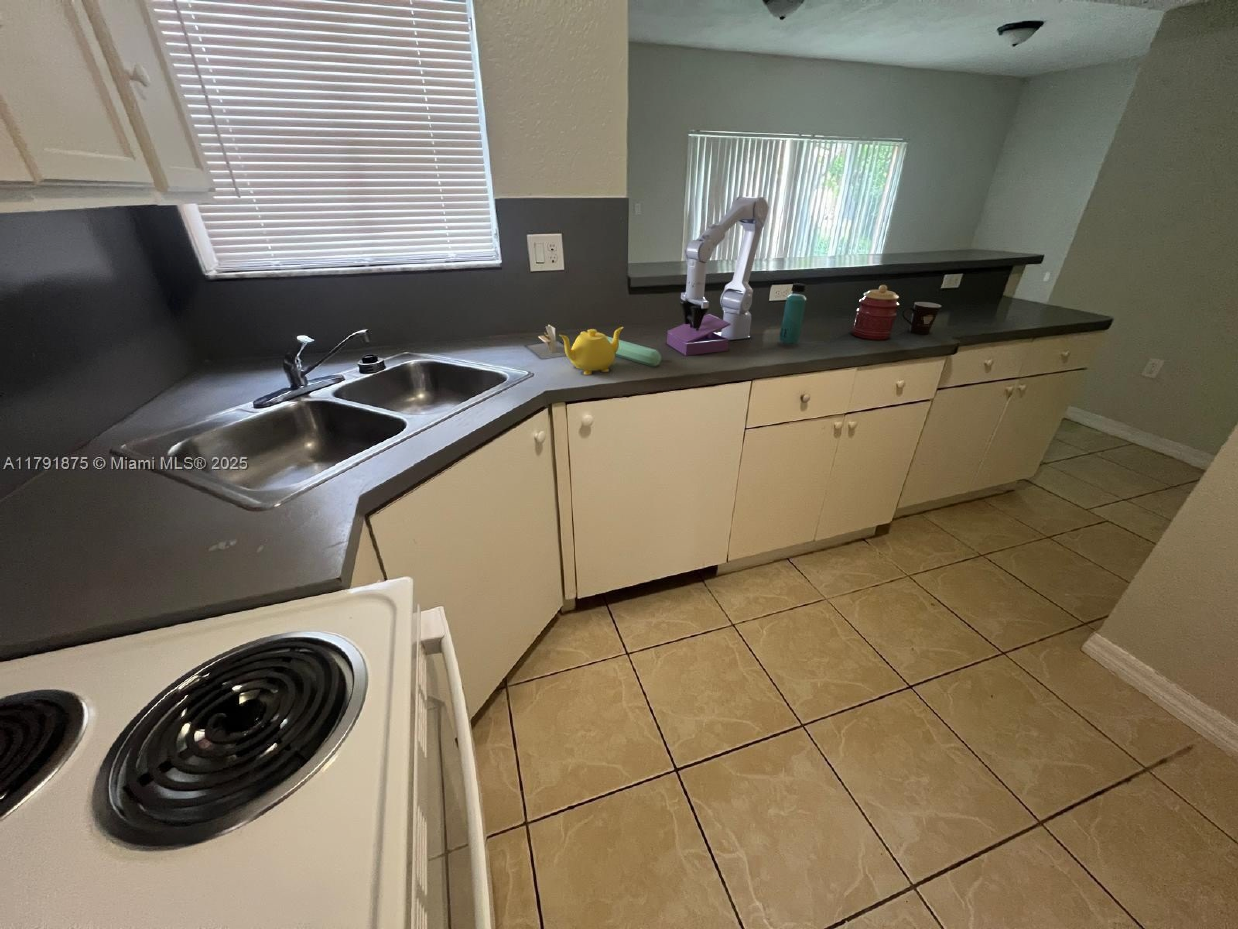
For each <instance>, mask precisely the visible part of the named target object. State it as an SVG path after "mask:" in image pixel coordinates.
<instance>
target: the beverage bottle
mask: <svg viewBox="0 0 1238 929" xmlns="http://www.w3.org/2000/svg"><path fill="white" fill-rule="evenodd" d="M805 290H806V284H804V283H793V284H792V286H791V292H795V293H791V294H789V295H788V296H787V297H786V300H785V306H784V309H783V310H784V311H783V317H782V323H781V327H780V332H779V341H780V342H781V343H786V344H797V343H798V342H799V339H800V336H801V335H800V334H801V330H802V329H801V328H802V325H803V319H804V318H803V317H804V312H805V307H806V303H807V297H806V296H805V295H804V294H800V293H804V292H805Z"/></svg>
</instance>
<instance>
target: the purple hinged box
mask: <svg viewBox="0 0 1238 929" xmlns="http://www.w3.org/2000/svg"><path fill="white" fill-rule="evenodd" d="M687 319H688V320H689V324H685V323H683V324H680V325H678V326H676V327H673V328H671V329H669V330H667V334H668V333H670V334H672V335H673V336H675V337H677V338H678V339H680V340H682V341H684V342H685V343H690V342H692V341H694V340H697V339H699V338H701V337H704V336H706V335H708V334H711V333H713V332H715V333H717V332H719V331H720V330H722V329H723V328H725V327H727V326H730V325H731V324H730V323H728V322H726V321H724V320H723V318H720V317H717V316H715V315H713V314H710V313H707V314H705V315H704V317H703V320H702V322H701V325H700V328H698V329H693V318H692V315H688V316H687Z"/></svg>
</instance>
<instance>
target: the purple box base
mask: <svg viewBox="0 0 1238 929" xmlns="http://www.w3.org/2000/svg"><path fill="white" fill-rule="evenodd" d="M717 333H718V332H713V333H711V334H708V335H706V336H704V337H701V338H699V339H697V340H694V341H692V342H690V343H685V342H684V341H682V340H680V339H678V338H677V337H675V336H673V335H672V334H670V333H668V332H667V336H666V344H667V345H668V346H670V347H671V348H673V349H675V350H676V351H678V352H679V353H681V354H682V355H684V356H695V355H703V354H711V353H721V352H728V350H729V343H730V340H729V339H727V338H725V337H723V336H721V335H719V334H717Z"/></svg>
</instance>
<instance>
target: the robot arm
mask: <svg viewBox="0 0 1238 929" xmlns="http://www.w3.org/2000/svg"><path fill="white" fill-rule="evenodd" d="M769 209H770V206H769V204H768V200H767V198H766V197H764V196H760V197H757V196H742V195H739V196H737V197H736V198H735V199H734V200H733V201H732V202H731V205H730V208H729V210H728V211H727V212H726V213H725V215H724V216H722V218H721V219H720V220H719V221H718V223H710V224H709V225H708V227H707V228H706V229H705V230H704V231H703V232H702V233H701V234H700V235H699V236H698V237H697V238H696V239H692V240H690V241H689V242H688V243H687V244H686V246H685V249H684V256H685V260H686V267H687V273H686V286H685V292H680V299H681V300H682V301H679V305H680V308H681V311H682V314H683V322H684V324H689V320H688V319H687V316H688V315H692V318H693V329H698V328H700V325H701V322H702V320H703V317H704V316H705V315H706V313H707V312H708V311H709V309H710V308H709V306H710V301H708V300H707V299H706V297H705V287H706V277H707V267H708V266H707V265H708V261H710V260H711V258H712V255H713V252H714V251H715V248H717V246H719V244H720V243H722V241H723V240H724V239H725V238H726V232H728V231H729V230H730V229H731V228H732V227H734V225H737V223H739V224H740V226H741V227H743V229H744V234H743V237H742V241H741V246H740V249H739V253H738V257H737V261H736V265H735V269H734V273H733V276H732V280H730V282H728V283H726V284H725V286H724V289H723V292H722V293H721V295H720V298H719V304H720V306H721V308H722V311H723V316H722V317H723V318H722V320H724V321H726V322H728V323H730V324H731V325H730V326H727V327H725V328H723V329H721V331H720V332H716V333H717V334H719V335H721V336H723V337H725V338H727V339H729V341H733V340H742V339H750V338H751V336H750V332H751V325H752V314H751V312H750V311H749V310H750V309H751V307H752V303H753V295H754V294H753V293H754V289H753V288H752V287H751V285H750V284H749V281H750V277H751V274H752V271H753V270H752V269H753V266H754V262H755V258H756V254H757V251H758V247H759V243H760V241H761V240H760V239H761V236H762V232H763V228H765V225H766V220H767V216H768V213H769Z"/></svg>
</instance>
